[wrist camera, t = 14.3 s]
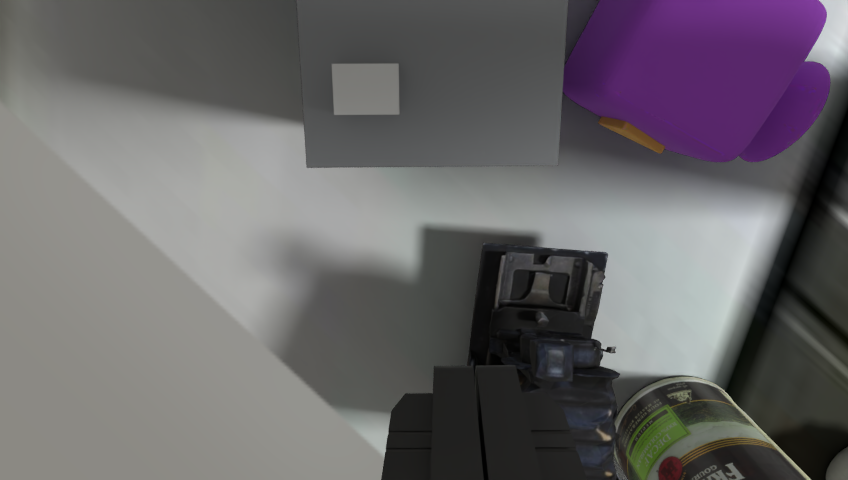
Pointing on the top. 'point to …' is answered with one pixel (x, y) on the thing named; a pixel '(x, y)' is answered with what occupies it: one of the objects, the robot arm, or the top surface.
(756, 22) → the toy camera
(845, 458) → the cupcake
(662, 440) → the coffee can
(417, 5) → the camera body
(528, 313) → the vintage camera
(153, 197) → the top surface
